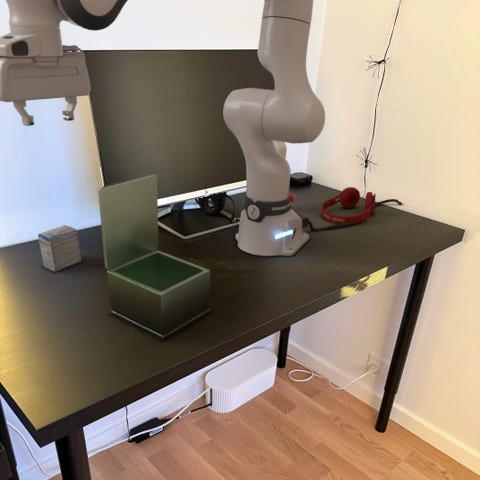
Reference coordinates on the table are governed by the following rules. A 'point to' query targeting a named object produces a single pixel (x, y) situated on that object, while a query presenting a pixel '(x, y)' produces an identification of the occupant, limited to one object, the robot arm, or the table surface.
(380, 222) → the table surface
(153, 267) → the green hollow box
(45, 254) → the medicine box
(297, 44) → the robot arm
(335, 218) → the headphones
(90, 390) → the table surface
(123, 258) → the lid
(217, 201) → the controller
